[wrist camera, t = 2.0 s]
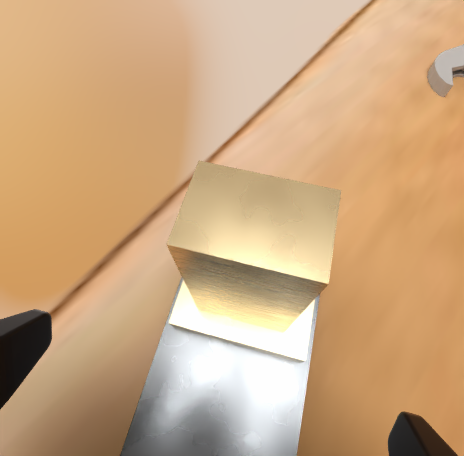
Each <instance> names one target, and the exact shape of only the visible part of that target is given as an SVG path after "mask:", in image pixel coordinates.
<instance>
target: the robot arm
mask: <svg viewBox="0 0 464 456" xmlns="http://www.w3.org/2000/svg"><path fill="white" fill-rule="evenodd" d="M51 340H52V321H51V315H50V314H49V313H48V312H44V311H41V310H36V309H34V310H30V311H27V312H24V313H20V314H17V315H14V316H10V317H7V318H4V319H0V409H1V408H2V407H3V406H4V405H5V403H6V402H7V401H8V400H9V399H10V397H11V396H12V395H13V394H14V392H15V391H16V390H17V388H18V387H19V386H20V384H21V383H22V382H23V380H24V379H25V378H26V376H27V375H28V374H29V372H30V371H31V370H32V369H33V367H34V366H35V365H36V363H37V362H38V361H39V359H40V358H41V357H42V355H43V354H44V353H45V351H46V350H47V349H48V347H49V345H50V343H51ZM388 451H389V456H458V455H457V454H456V453H455V452H454V451H453V450H452V449H451V448H450V446H449V445H448V444H447V443H446V442H445V441H444V440H443V439H442V438H441V437H440V436H439V435H438V434H437V433H436V431H435V430H434V429H433V428H432V427H431V426H430V425H429V424H428V423H427V422H426V421H425V420H424V419H423V418H422V417H421V416H419V415H416V414H412V413H408V412H401V413H400V414H399V415H398V417H397V419H396V422H395V424H394V426H393V428H392V430H391V432H390V434H389V438H388Z"/></svg>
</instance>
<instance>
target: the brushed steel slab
mask: <svg viewBox="0 0 464 456" xmlns="http://www.w3.org/2000/svg"><path fill="white" fill-rule="evenodd" d="M182 282H183V278H181V281H180V284H179V287H178V290H177V292H176V295H175V298H174V301H173V304H172V307H171V310H170V313H169V316H168V319H167V321H166V324H165V327H164V330H163V333H162V336H161V339H160V342H159V345H158V347H157V350H156V353H155V356H154V359H153V362H152V365H151V368H150V371H149V373H148V376H147V379H146V382H145V385H144V388H143V391H142V394H141V397H140V400H139V402H138V405H137V408H136V411H135V414H134V417H133V420H132V423H131V426H130V428H129V431H128V434H127V437H126V440H125V443H124V446H123V449H122V452H121V455H120V456H297V449H298V442H299V435H300V428H301V421H302V414H303V407H304V400H305V393H306V386H307V380H308V373H309V366H310V359H311V352H312V345H313V338H314V331H315V324H316V317H317V310H318V303H319V296H320V294H319V295H318V296H317V297H316V298H315V302H314V309H313V315H312V322H311V329H310V335H309V342H308V349H307V355H306V361H304V362H301V363H298V362H295V361H291V360H288V359H284V358H280V357H277V356H273V355H270V354H266V353H262V352H259V351H255V350H252V349H248V348H244V347H241V346H237V345H234V344H230V343H226V342H223V341H219V340H216V339H212V338H208V337H205V336H201V335H198V334H194V333H190V332H187V331H183V330H180V329H176V328H173V327H172V326H171V325H170V324H169V320H170V317H171V314H172V312H173V309H174V306H175V303H176V300H177V297H178V294H179V291H180V288H181V285H182Z"/></svg>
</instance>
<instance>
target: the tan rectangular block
mask: <svg viewBox="0 0 464 456" xmlns="http://www.w3.org/2000/svg"><path fill="white" fill-rule="evenodd" d="M340 194H341V190H337V189H332V188H327V187H322V186H317V185H313V184H308V183H303V182H298V181H294V180H289V179H284V178H279V177H274V176H270V175H265V174H260V173H255V172H251V171H246V170H241V169H236V168H231V167H227V166H222V165H217V164H212V163H207V162H203V161H198V164H197V167H196V169H195V172H194V174H193V177H192V180H191V182H190V185H189V187H188V190H187V192H186V195H185V198H184V200H183V203H182V205H181V208H180V211H179V213H178V216H177V218H176V221H175V224H174V226H173V229H172V231H171V234H170V237H169V239H168V242H167V246H168V248H169V251H170V253H171V255H172V257H173V259H174V261H175V263H176V265H177V267H178V269H179V271H180V273H181V276H182V278H183V282H182V285H181V288H180V291H179V294H178V297H177V300H176V303H175V306H174V309H173V312H172V314H171V317H170V320H169V324H170V325H171V326H172V327H173V328H176V329H180V330H183V331H187V332H190V333H194V334H198V335H201V336H205V337H208V338H212V339H216V340H219V341H223V342H226V343H230V344H234V345H237V346H241V347H244V348H248V349H252V350H255V351H259V352H262V353H266V354H270V355H273V356H277V357H280V358H284V359H288V360H291V361H295V362H298V363H301V362H304V361H306V355H307V349H308V342H309V335H310V329H311V322H312V315H313V309H314V302H315V298H316V297H317V296H318V295H319V294H320V293H321V292H322V291H323V290H324V288H325V287H326V286H327V285H328V284H329V277H330V269H331V262H332V254H333V247H334V239H335V232H336V224H337V217H338V209H339V202H340Z"/></svg>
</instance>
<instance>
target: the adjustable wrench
mask: <svg viewBox="0 0 464 456" xmlns="http://www.w3.org/2000/svg"><path fill="white" fill-rule="evenodd" d="M458 76H459V77H464V44H463V45H461V46H458V47H455V48H452V49H449V50H446V51H444V52H442V53H441V54H439V55H438V56H437V58H436V59H435V61H434V63H433V64H432V66H431V67H430V69H429V71H428V76H427V78H428V82H429V84H430V86H431V88H432V89H433V90H434V91H435V92H436V93H437V94H438V95H440V96H442V97H445V96H446V95H447V93H448V92H449V90H450V89H451V88H452V86H453V78H454V77H458Z"/></svg>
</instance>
